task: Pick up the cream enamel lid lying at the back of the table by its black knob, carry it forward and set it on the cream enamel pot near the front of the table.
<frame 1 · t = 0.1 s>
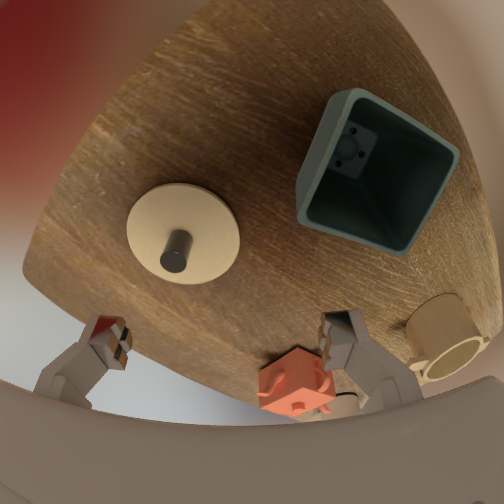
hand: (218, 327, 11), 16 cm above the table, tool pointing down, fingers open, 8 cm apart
pot: (433, 318, 36), on the table
flower pot: (343, 144, 22), on the table
mug: (334, 401, 51), on the table
lid: (182, 236, 27), point 1 cm above the table
teapot: (293, 362, 41), on the table
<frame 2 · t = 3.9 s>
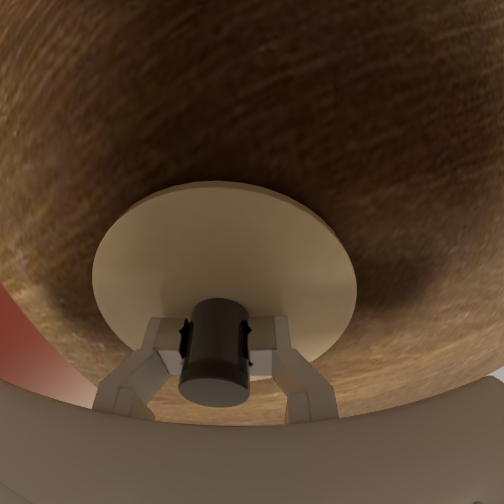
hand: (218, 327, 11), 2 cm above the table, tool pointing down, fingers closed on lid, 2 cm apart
lid: (221, 307, 12), point 1 cm above the table, touching gripper
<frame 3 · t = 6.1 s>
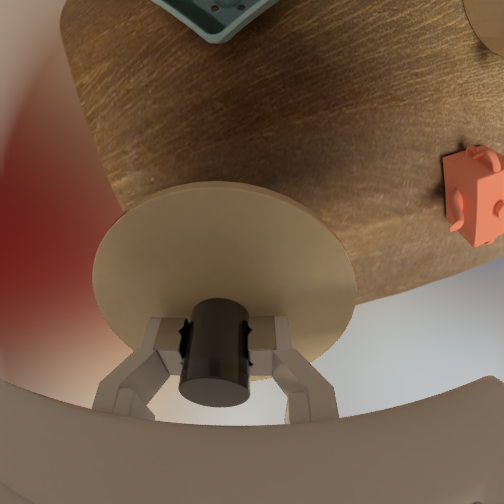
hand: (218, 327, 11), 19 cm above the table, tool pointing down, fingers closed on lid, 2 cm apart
pot: (491, 18, 13), on the table
lid: (221, 307, 12), point 18 cm above the table, touching gripper
teapot: (462, 179, 26), on the table
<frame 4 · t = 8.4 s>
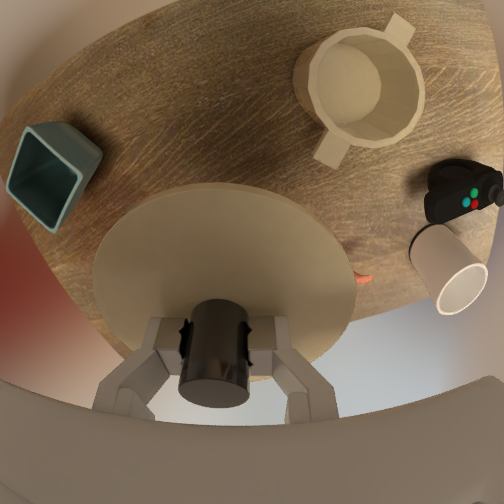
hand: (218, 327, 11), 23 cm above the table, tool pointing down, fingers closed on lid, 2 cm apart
controller: (436, 172, 30), on the table
pot: (340, 83, 25), on the table
flower pot: (80, 154, 29), on the table
mug: (429, 249, 37), on the table
lid: (221, 308, 12), point 22 cm above the table, touching gripper
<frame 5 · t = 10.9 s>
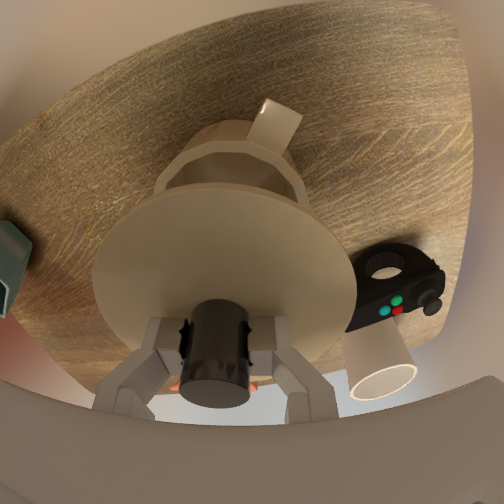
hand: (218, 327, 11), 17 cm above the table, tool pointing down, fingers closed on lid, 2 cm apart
controller: (368, 256, 31), on the table
pot: (234, 175, 25), on the table
flower pot: (18, 240, 29), on the table
mug: (364, 325, 38), on the table
lid: (221, 308, 12), point 16 cm above the table, touching gripper
when the fingers open (10 cm above the table, at t = 12.9 s): lid stays where it is, resting on pot.
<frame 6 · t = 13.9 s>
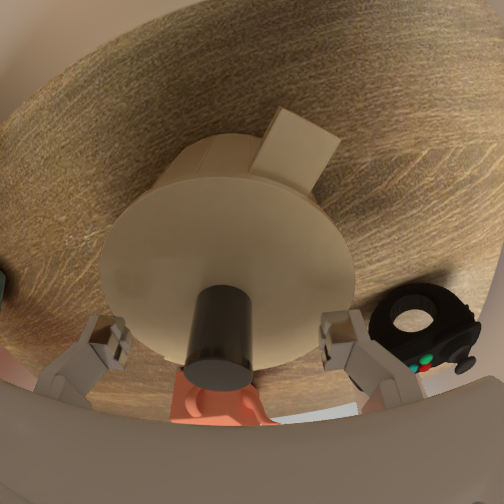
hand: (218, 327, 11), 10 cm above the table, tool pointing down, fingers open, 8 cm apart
controller: (392, 296, 25), on the table
pot: (232, 207, 19), on the table
mug: (379, 363, 32), on the table
lid: (224, 295, 12), point 8 cm above the table, touching pot
teapot: (219, 378, 33), on the table
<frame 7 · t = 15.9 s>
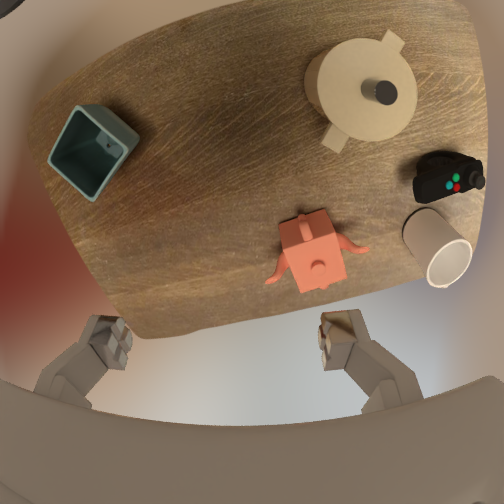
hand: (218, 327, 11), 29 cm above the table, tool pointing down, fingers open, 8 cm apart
controller: (425, 162, 36), on the table
pot: (343, 85, 30), on the table
flower pot: (115, 136, 34), on the table
mug: (420, 231, 43), on the table
lid: (369, 89, 23), point 8 cm above the table, touching pot
teapot: (308, 236, 43), on the table
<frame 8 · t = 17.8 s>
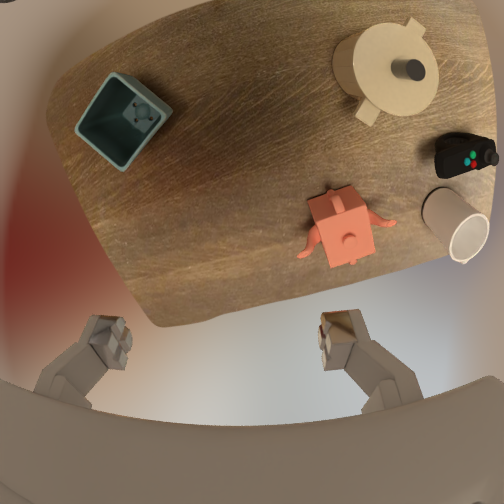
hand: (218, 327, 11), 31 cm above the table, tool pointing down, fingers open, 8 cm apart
controller: (441, 143, 35), on the table
pot: (368, 67, 30), on the table
flower pot: (143, 110, 33), on the table
mug: (438, 211, 42), on the table
lid: (397, 68, 23), point 8 cm above the table, touching pot
teapot: (334, 213, 43), on the table
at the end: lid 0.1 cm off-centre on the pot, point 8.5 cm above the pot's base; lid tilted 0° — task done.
